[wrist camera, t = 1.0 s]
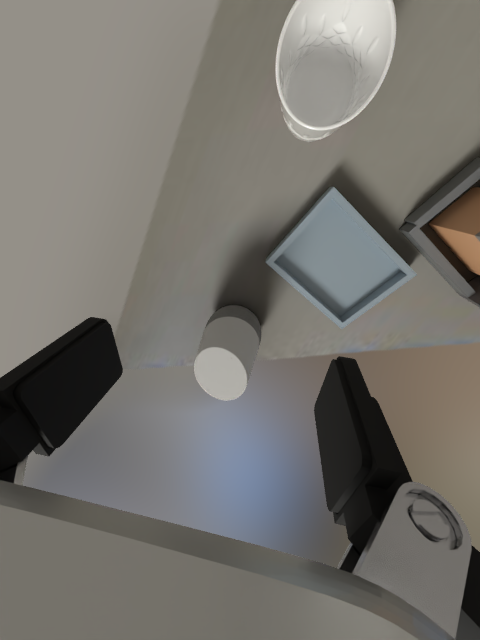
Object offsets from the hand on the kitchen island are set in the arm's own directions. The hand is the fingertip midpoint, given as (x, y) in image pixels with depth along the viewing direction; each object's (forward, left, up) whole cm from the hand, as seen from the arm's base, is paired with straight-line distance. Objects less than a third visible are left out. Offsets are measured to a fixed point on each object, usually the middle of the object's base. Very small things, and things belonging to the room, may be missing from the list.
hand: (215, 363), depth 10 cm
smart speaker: (+14, +6, -27) cm, 31 cm away
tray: (-4, +10, -27) cm, 29 cm away
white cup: (-14, -5, -27) cm, 31 cm away
